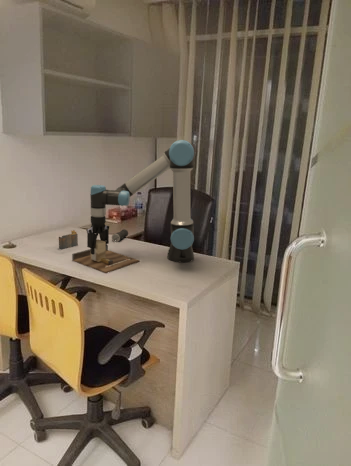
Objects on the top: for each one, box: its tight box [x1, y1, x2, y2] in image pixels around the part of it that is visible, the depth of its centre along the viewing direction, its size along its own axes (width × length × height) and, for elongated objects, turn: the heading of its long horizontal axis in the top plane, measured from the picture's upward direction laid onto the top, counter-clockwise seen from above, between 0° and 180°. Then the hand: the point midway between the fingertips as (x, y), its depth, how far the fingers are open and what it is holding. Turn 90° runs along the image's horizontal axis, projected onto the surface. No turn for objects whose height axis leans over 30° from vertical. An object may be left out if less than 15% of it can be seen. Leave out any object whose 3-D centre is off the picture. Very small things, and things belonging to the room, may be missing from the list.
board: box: [71, 244, 141, 274], centre depth 194 cm, size 26×24×4 cm
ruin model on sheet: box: [58, 230, 79, 250], centre depth 214 cm, size 11×3×10 cm, turn 143°
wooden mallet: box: [91, 238, 113, 265], centre depth 189 cm, size 13×5×10 cm, turn 52°
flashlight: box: [111, 228, 129, 243], centre depth 236 cm, size 15×5×5 cm, turn 165°
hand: (98, 258), depth 192 cm, fingers closed on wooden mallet, 5 cm apart
